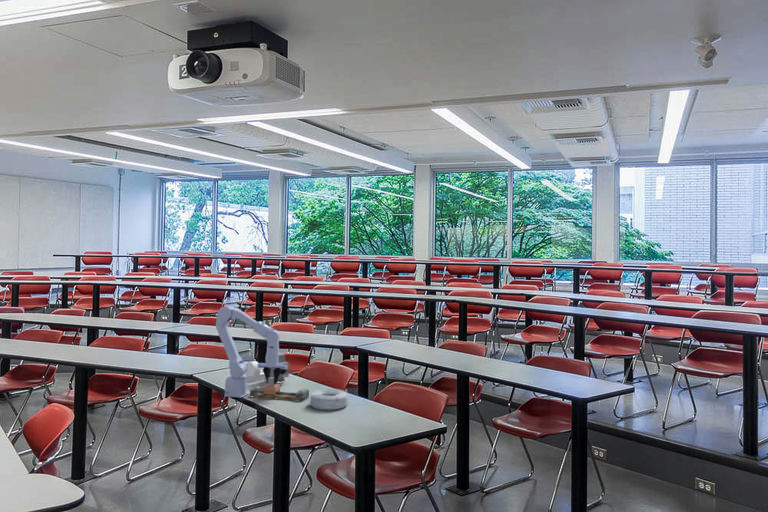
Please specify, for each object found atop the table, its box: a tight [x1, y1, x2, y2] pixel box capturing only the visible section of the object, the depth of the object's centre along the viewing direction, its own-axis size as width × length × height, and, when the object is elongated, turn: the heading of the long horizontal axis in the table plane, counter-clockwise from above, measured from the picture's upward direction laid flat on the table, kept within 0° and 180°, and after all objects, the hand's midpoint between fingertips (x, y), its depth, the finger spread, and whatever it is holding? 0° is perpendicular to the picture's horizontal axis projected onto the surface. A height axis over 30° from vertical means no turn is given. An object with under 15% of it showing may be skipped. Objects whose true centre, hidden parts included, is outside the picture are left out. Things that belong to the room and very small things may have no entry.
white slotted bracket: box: [245, 360, 265, 383], centre depth 300 cm, size 10×18×10 cm, turn 134°
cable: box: [309, 388, 349, 411], centre depth 252 cm, size 18×18×6 cm
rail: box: [249, 385, 310, 402], centre depth 264 cm, size 27×8×4 cm, turn 79°
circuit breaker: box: [264, 352, 290, 382], centre depth 293 cm, size 8×14×15 cm, turn 40°
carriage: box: [263, 377, 281, 395], centre depth 265 cm, size 6×6×7 cm
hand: (272, 383), depth 265 cm, fingers closed on carriage, 3 cm apart
